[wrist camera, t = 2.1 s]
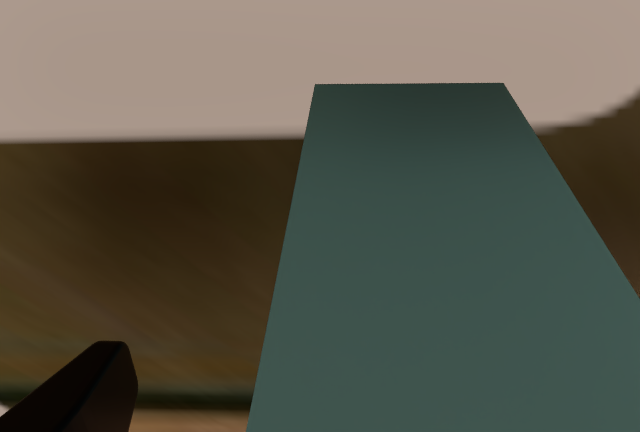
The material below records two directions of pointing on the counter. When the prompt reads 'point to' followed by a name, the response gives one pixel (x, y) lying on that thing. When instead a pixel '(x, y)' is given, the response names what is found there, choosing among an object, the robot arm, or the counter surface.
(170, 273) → the counter surface
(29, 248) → the counter surface
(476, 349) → the teal block
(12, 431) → the robot arm
